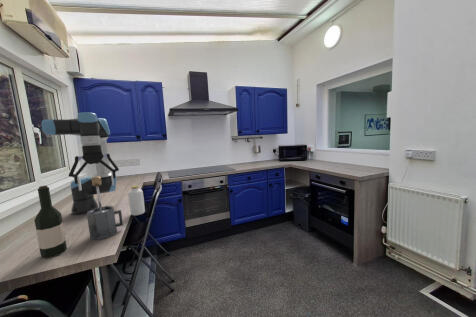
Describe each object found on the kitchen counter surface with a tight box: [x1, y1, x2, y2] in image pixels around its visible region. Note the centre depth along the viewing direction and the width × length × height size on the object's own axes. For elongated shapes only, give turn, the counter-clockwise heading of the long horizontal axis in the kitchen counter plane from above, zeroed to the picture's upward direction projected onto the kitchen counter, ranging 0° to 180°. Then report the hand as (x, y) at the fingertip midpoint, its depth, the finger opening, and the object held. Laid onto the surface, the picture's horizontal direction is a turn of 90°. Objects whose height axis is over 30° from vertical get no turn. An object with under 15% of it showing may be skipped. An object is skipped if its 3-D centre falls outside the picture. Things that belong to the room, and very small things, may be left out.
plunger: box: [91, 176, 108, 214], centre depth 98 cm, size 7×7×19 cm
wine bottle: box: [33, 185, 68, 260], centre depth 84 cm, size 8×8×30 cm
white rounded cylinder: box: [127, 185, 146, 216], centre depth 125 cm, size 8×8×18 cm
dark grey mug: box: [86, 205, 124, 241], centre depth 100 cm, size 12×14×13 cm
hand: (97, 187), depth 97 cm, fingers open, 13 cm apart
